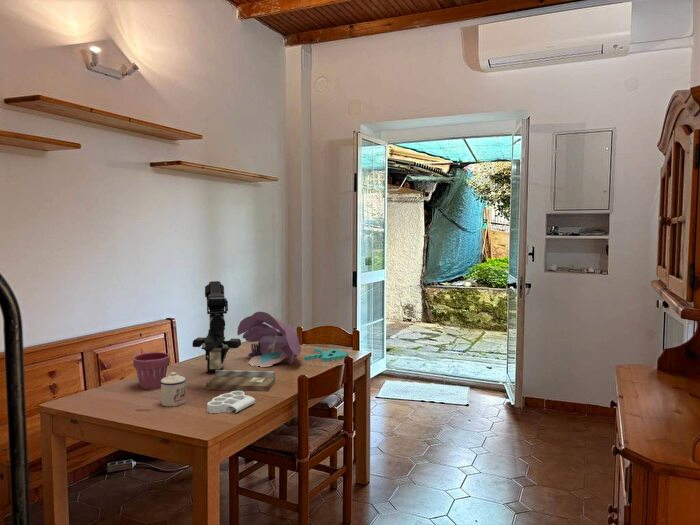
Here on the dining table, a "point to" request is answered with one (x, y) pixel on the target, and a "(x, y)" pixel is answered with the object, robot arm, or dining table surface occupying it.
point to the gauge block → (216, 359)
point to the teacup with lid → (173, 390)
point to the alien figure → (327, 355)
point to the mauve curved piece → (269, 339)
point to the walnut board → (242, 380)
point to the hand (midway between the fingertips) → (217, 363)
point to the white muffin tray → (230, 402)
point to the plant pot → (151, 368)
